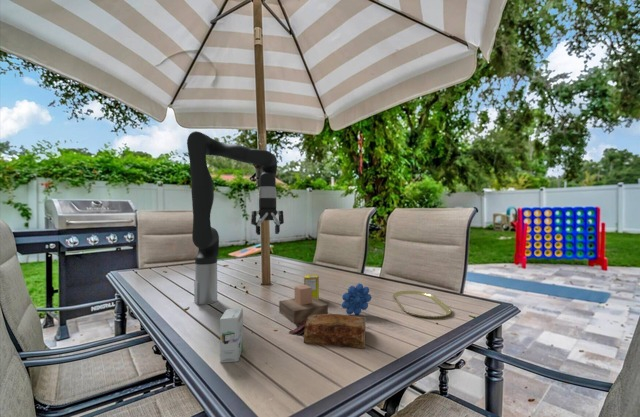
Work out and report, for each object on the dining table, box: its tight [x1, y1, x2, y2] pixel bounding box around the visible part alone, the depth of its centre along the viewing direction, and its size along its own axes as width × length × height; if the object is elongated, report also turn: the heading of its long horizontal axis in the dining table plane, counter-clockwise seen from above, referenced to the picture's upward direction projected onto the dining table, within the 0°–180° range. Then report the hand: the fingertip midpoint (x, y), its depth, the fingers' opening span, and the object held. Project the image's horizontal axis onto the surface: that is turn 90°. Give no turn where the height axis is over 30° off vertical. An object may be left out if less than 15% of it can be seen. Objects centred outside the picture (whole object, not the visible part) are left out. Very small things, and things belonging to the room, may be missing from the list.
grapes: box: [341, 283, 372, 316], centre depth 115 cm, size 12×7×12 cm, turn 95°
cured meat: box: [288, 313, 366, 349], centre depth 97 cm, size 18×25×7 cm
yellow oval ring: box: [392, 290, 452, 320], centre depth 127 cm, size 19×35×2 cm, turn 178°
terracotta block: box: [294, 284, 312, 305], centre depth 115 cm, size 5×5×6 cm
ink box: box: [219, 307, 244, 364], centre depth 83 cm, size 8×5×12 cm, turn 6°
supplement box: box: [303, 274, 320, 300], centre depth 134 cm, size 6×6×11 cm
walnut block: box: [278, 297, 329, 325], centre depth 115 cm, size 14×14×5 cm
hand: (267, 234), depth 130 cm, fingers open, 8 cm apart
